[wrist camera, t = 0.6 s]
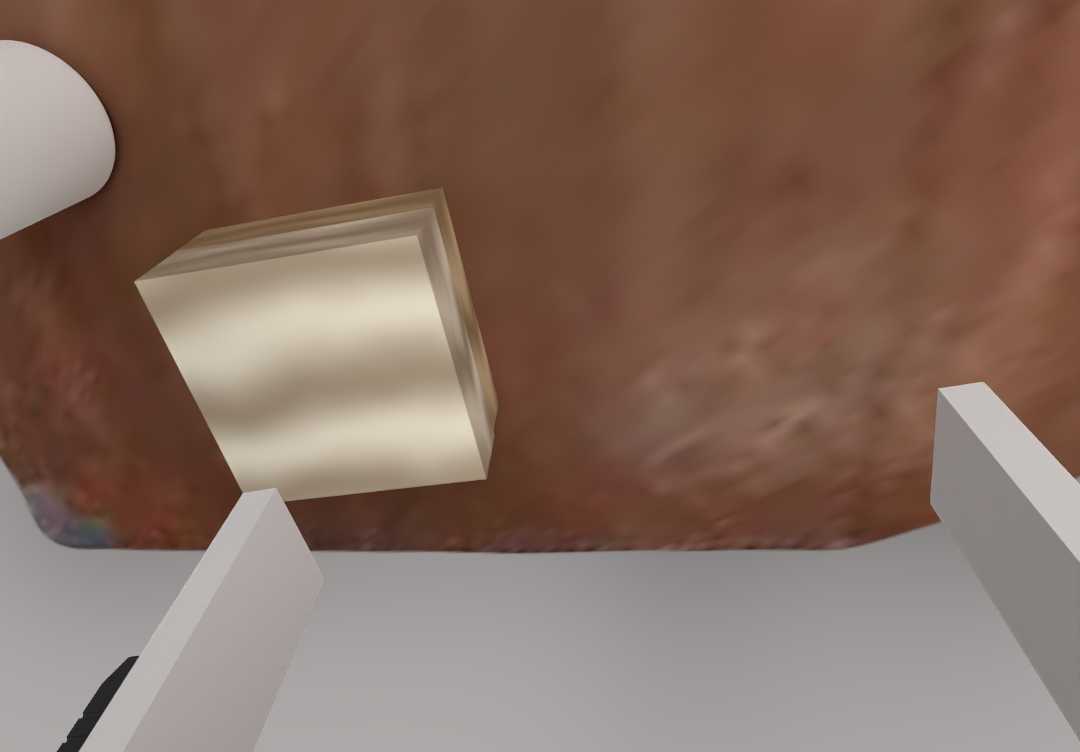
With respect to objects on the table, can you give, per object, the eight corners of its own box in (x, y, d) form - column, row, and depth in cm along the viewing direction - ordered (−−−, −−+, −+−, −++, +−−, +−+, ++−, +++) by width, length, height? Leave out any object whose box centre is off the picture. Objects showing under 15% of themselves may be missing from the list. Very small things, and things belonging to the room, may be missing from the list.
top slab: (176, 251, 36) (134, 281, 33) (433, 207, 35) (416, 235, 31) (275, 461, 43) (249, 505, 40) (494, 435, 41) (486, 478, 38)
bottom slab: (209, 227, 40) (173, 252, 37) (443, 185, 38) (429, 207, 35) (296, 426, 47) (274, 463, 43) (499, 399, 45) (492, 435, 41)
